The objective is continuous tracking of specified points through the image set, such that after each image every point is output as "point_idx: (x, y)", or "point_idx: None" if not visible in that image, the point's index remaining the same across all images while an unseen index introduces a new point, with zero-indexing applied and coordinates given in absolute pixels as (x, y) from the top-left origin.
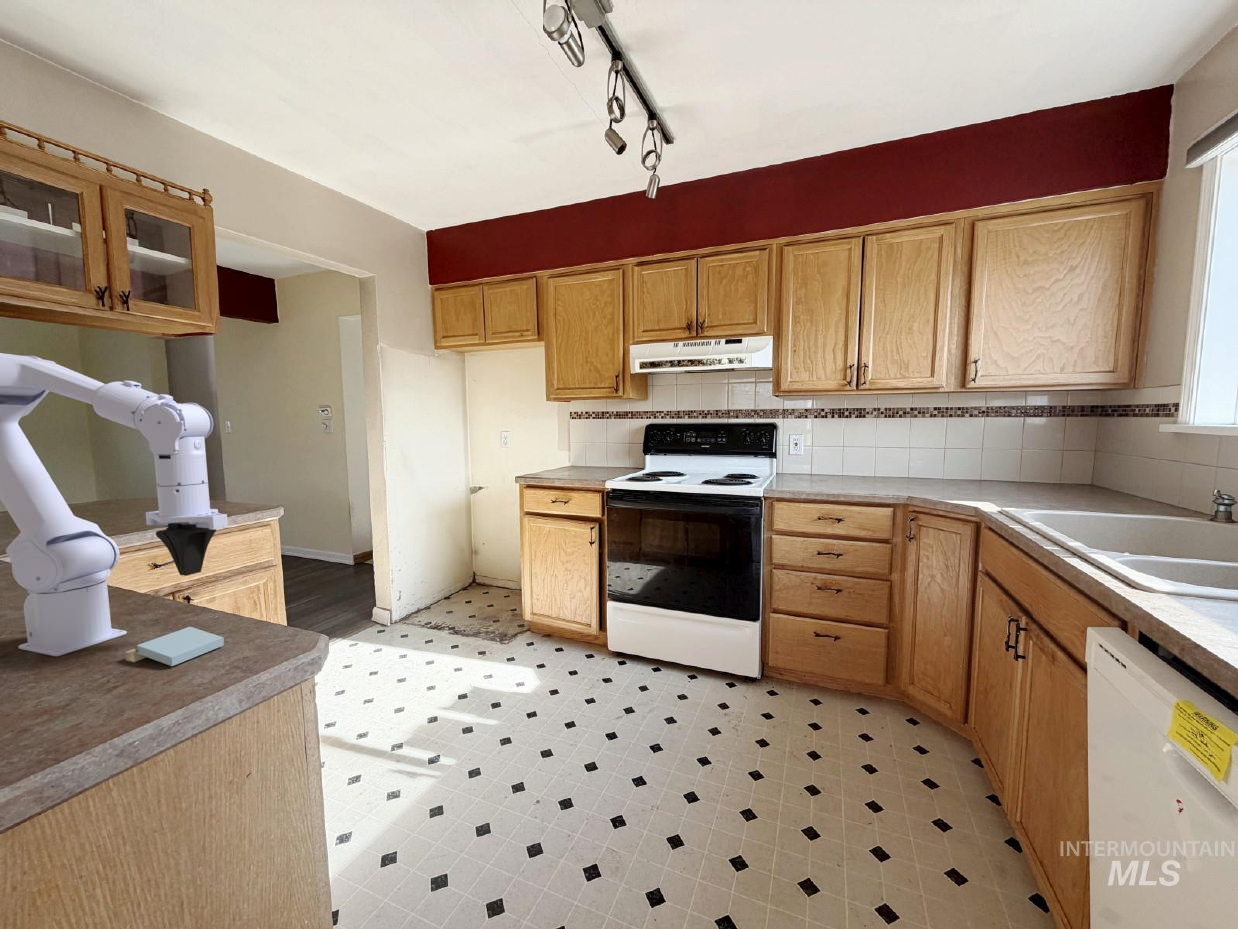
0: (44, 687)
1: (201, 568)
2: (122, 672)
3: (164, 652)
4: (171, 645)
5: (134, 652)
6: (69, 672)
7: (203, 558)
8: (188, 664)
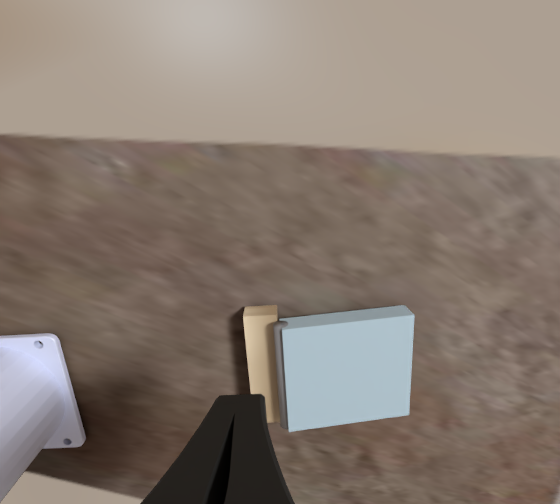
0: None
1: (263, 404)
2: (306, 429)
3: (372, 414)
4: (351, 394)
5: (279, 419)
6: None
7: (271, 442)
8: None
